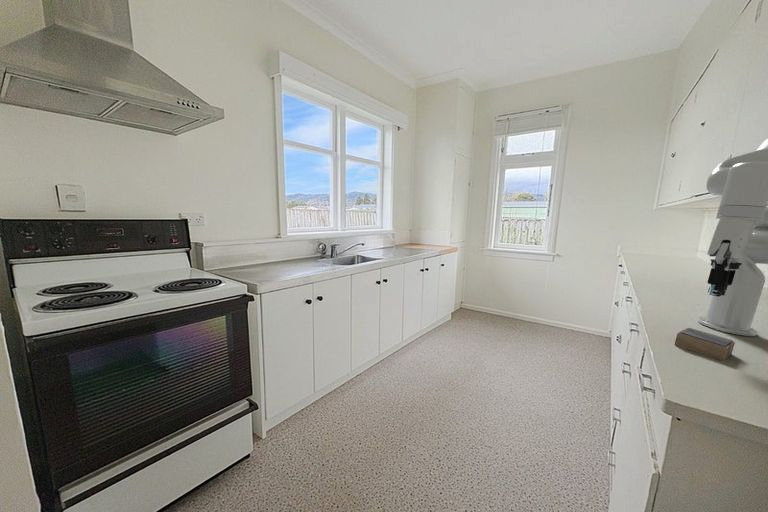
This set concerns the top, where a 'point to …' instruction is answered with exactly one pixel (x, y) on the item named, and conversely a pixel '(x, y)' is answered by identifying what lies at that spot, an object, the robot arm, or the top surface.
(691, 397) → the top surface
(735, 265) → the push button
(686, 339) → the stand
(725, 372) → the top surface
